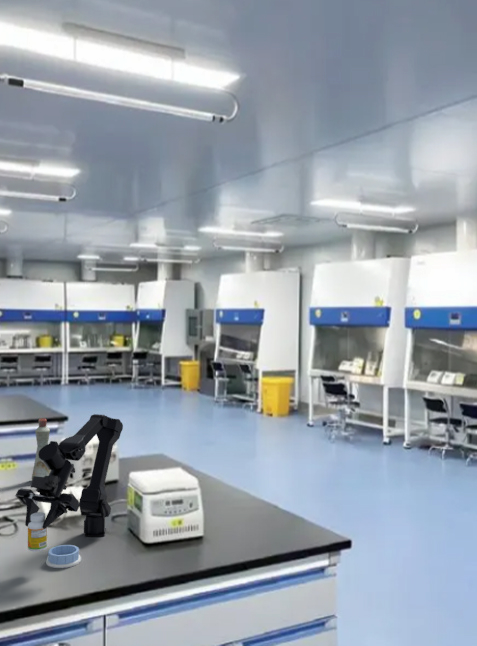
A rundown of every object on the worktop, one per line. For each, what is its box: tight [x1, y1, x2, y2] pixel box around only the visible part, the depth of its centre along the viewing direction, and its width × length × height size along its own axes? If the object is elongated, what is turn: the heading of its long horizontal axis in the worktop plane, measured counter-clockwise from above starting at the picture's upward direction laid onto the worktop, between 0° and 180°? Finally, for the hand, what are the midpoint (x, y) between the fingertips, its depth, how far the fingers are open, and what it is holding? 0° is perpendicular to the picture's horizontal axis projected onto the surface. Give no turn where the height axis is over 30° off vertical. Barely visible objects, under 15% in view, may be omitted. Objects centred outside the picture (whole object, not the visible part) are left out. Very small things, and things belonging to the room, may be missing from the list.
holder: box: [45, 544, 82, 569], centre depth 183 cm, size 10×10×3 cm
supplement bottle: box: [27, 511, 49, 552], centre depth 175 cm, size 5×5×10 cm
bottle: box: [31, 417, 51, 480], centre depth 270 cm, size 9×9×28 cm
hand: (34, 527), depth 174 cm, fingers closed on supplement bottle, 5 cm apart
